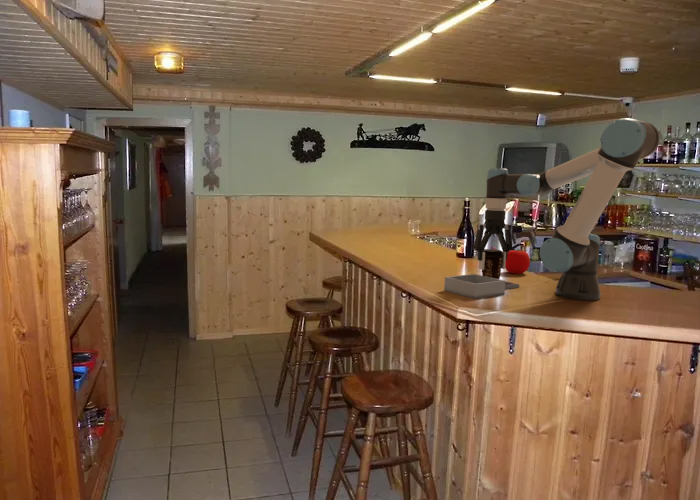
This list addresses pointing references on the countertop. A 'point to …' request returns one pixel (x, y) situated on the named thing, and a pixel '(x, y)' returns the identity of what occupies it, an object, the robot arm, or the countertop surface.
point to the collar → (511, 285)
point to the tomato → (517, 261)
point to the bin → (474, 286)
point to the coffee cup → (492, 263)
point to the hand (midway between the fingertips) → (491, 268)
